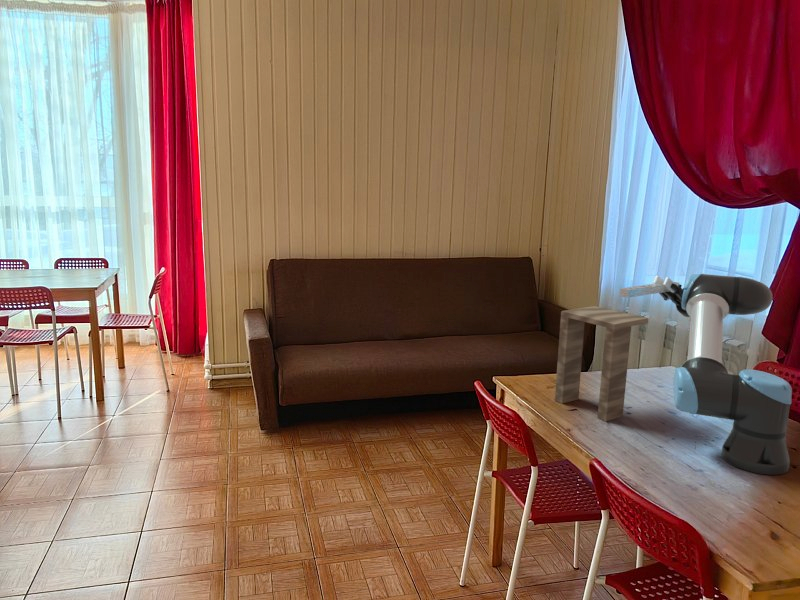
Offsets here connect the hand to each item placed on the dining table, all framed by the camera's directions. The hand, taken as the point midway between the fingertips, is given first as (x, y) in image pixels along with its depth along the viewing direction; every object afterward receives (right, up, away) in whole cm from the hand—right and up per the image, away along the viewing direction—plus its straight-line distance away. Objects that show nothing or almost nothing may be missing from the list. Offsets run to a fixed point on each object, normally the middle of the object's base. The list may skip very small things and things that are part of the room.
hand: (660, 280), depth 200 cm
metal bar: (-4, -4, -2) cm, 7 cm away
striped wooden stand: (-24, -41, -8) cm, 48 cm away
